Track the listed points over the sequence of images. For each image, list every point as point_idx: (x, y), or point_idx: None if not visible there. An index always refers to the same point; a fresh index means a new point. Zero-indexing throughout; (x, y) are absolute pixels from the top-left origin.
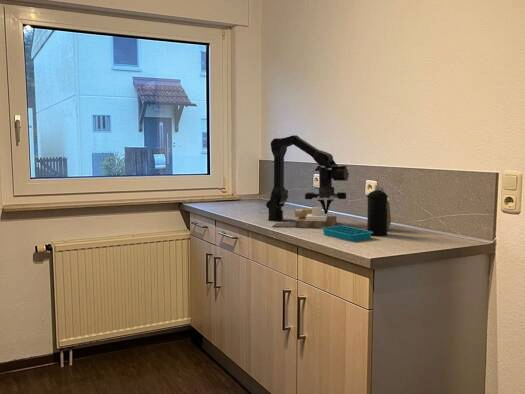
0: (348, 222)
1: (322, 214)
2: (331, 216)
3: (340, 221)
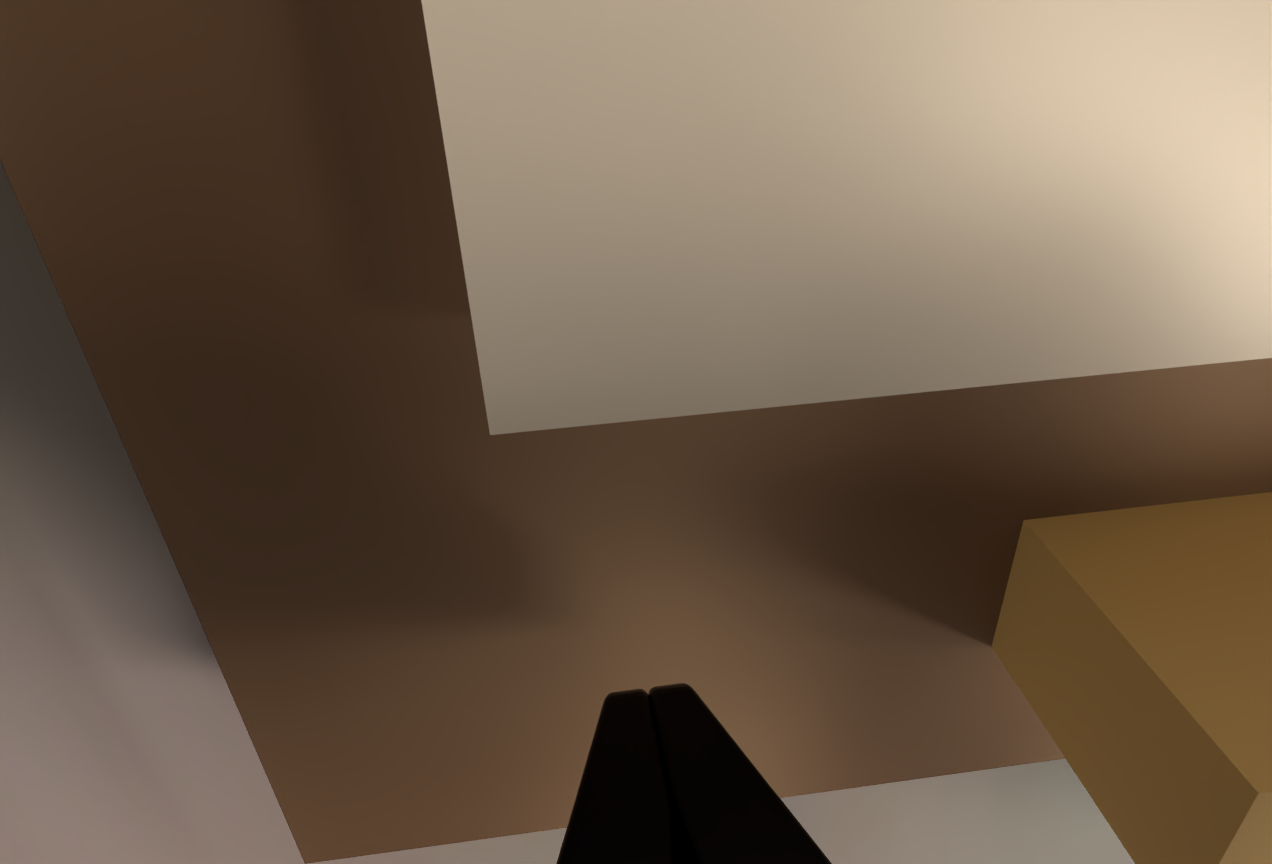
0: (4, 756)
1: (829, 107)
2: (454, 770)
3: None
